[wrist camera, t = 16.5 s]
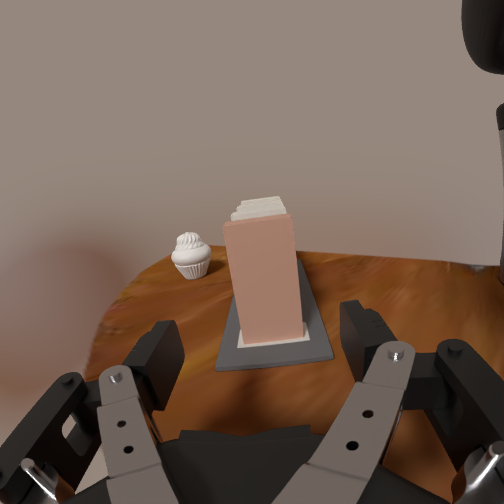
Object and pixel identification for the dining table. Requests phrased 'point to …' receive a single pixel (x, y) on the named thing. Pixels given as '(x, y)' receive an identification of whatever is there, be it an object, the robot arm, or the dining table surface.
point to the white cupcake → (191, 256)
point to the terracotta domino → (265, 277)
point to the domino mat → (276, 352)
